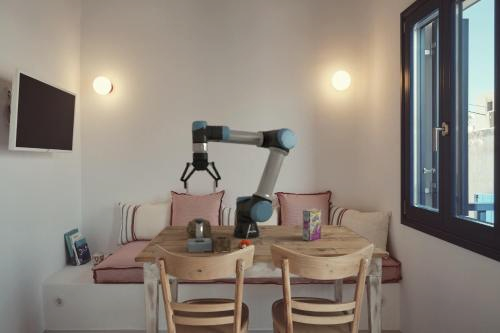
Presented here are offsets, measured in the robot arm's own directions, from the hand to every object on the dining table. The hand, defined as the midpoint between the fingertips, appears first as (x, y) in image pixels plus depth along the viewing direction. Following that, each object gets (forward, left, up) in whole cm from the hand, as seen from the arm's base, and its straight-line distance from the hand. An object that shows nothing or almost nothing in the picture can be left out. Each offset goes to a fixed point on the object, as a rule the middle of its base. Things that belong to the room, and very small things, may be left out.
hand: (201, 194), depth 170 cm
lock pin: (+1, +2, -27) cm, 27 cm away
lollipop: (-22, +5, -27) cm, 35 cm away
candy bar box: (-61, -3, -27) cm, 67 cm away
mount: (-9, +7, -27) cm, 29 cm away
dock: (+1, +2, -27) cm, 27 cm away
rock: (-2, -32, -27) cm, 42 cm away
